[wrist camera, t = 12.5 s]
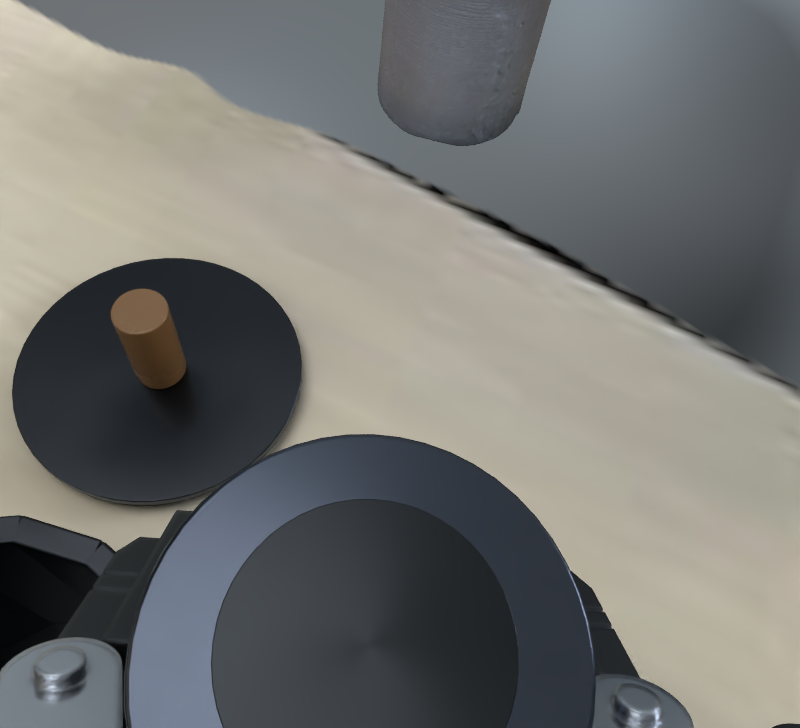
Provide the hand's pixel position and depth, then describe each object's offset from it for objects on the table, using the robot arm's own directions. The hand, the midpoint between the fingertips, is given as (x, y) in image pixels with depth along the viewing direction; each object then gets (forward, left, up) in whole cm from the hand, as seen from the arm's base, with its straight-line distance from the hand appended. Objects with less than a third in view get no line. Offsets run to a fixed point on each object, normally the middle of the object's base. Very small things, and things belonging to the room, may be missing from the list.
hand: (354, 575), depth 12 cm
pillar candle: (-33, -18, -20) cm, 43 cm away
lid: (-6, -16, -20) cm, 26 cm away
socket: (+2, +1, -4) cm, 5 cm away
